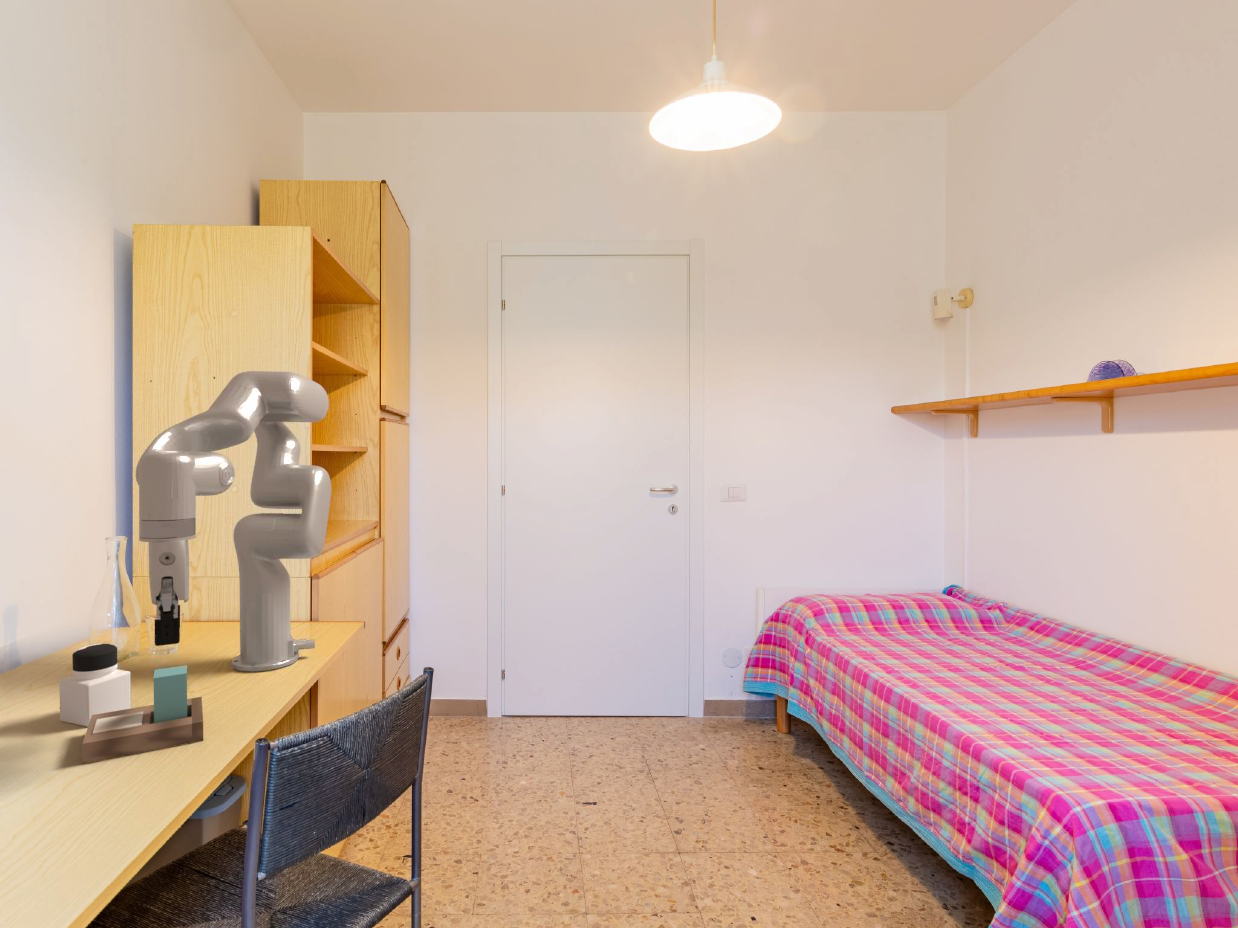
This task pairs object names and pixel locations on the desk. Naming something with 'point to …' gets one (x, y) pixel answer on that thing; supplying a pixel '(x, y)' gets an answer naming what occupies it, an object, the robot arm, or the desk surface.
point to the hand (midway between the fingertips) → (167, 636)
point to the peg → (170, 693)
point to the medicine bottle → (94, 685)
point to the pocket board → (139, 732)
